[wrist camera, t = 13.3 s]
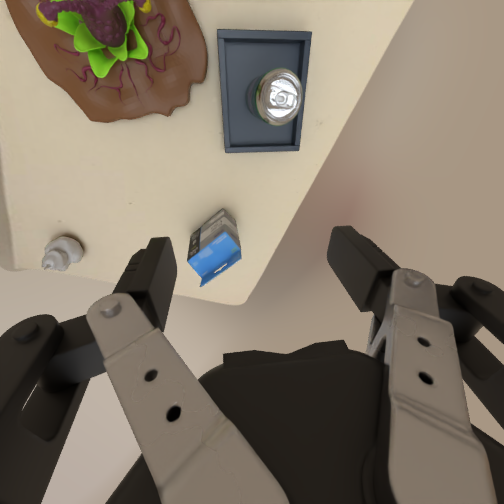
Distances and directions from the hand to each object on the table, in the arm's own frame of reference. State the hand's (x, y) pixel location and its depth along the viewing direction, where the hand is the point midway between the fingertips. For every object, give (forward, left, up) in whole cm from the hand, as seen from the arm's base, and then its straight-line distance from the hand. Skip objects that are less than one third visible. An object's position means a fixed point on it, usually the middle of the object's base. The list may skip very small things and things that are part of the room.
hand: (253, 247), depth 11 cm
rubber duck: (+17, -31, -30) cm, 47 cm away
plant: (-13, -13, -30) cm, 35 cm away
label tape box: (+15, -4, -30) cm, 34 cm away
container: (-6, +5, -30) cm, 31 cm away
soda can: (-6, +5, -30) cm, 31 cm away
